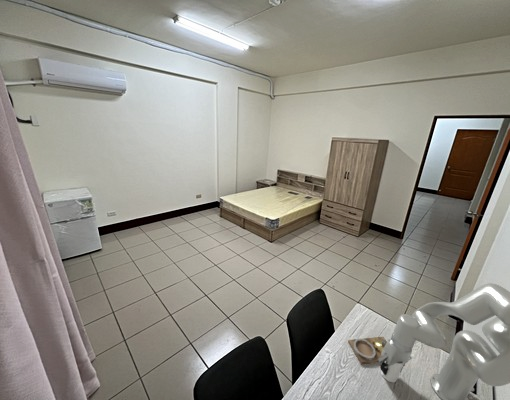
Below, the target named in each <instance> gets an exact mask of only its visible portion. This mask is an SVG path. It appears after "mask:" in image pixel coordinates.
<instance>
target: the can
mask: <svg viewBox="0 0 510 400" xmlns="http://www.w3.org/2000/svg"><path fill="white" fill-rule="evenodd" d="M385 363H386V365H387V361H385ZM402 367H403V362H401V363H396V364H394V365H390V366H389V367H388V372H387V374H386V375H384V373H383V372H382V370H381V369H380V373H381V376H382V377H383V378H384V379H385V380H386V381H388V382H390V383H395V382H397V380H398V378H399V376H400V374H401V373H400V371H401V369H402ZM403 368H404V367H403ZM402 370H403V369H402ZM401 372H402V371H401Z"/></svg>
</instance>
